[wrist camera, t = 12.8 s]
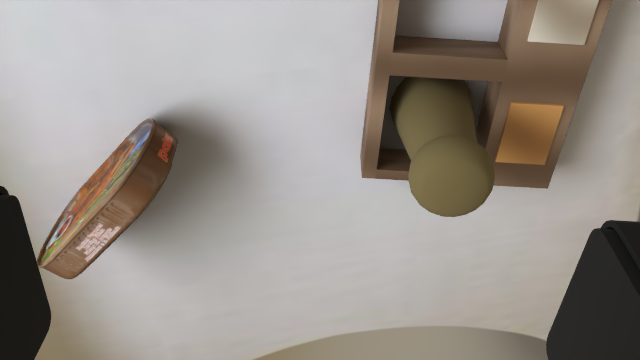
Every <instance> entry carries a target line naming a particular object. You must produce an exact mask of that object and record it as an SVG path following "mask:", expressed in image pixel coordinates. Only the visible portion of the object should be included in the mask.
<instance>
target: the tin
mask: <svg viewBox="0 0 640 360" xmlns="http://www.w3.org/2000/svg"><path fill="white" fill-rule="evenodd" d="M177 143H178V140H177V139H176V138H175V137H174V136H173V135H172V134H170V133H169V132H168V131H166V130H165V129H163V128H162V127H160V126H159V125H158V124H156V123H155V121H154V120H153V119H147V120H145V121H143V122H142V123H141V124H140V125H138V126H137V127H136V129H134V130H133V131H132V132H131V133H130V134H129V136H128V137H127V138H126V139H125V140H124V141H123V142H122V143H121V144H120V145H119V147H118V148H117V149H116V150H115V151H114V152H113V153H112V154H111V155H110V157H109V158H108V159H107V160H106V161H105V162H104V163H103V164H102V165H101V166H100V168H99V169H98V170H97V171H96V172H95V173H94V174H93V175H92V176H91V177H90V178H89V180H88V181H87V182H86V183H85V184H84V185H83V186H82V187H81V188H80V190H79V191H78V192H77V193H76V195H75V196H74V197H73V199H72V200H71V201H70V202H69V204H68V205H67V207H66V208H65V209H64V211H63V212H62V214H61V216H60V217H59V218H58V220H57V222H56V223H55V225H54V227H53V228H52V230H51V232H50V234H49V236H48V237H47V239H46V241H45V243H44V244H43V247H42V249H41V251H40V254H39V256H38V259H37V265H38V267H39V268H44V269H46V270H48V271H50V272H52V273H54V274H56V275H58V276H60V277H62V278H65V279H73V278H75V277H77V276H78V275H79V274H81V273H82V272H83V271H84V270H85V269H86V268H87V267H88V266H89V265H90V264H91V263H93V262H94V261H95V260H96V259H97V258H98V257H99V256H100V255H101V254H102V253H103V252H104V251H105V250H106V249H107V248H108V247H109V246H110V245H111V244H112V243H113V242H114V241H115V240H116V239H117V238H118V237H119V236H120V235H121V234H122V233H123V232H124V231H125V230H126V229H127V228H128V227H129V226H130V225H131V224H132V223H133V222H134V221H135V220H136V219H137V218H138V217H139V216H140V214H141V213H142V212H143V211H144V210H145V209H146V207H147V206H148V205H149V204H150V202H151V201H152V200H153V198H154V197H155V196H156V194H157V193H158V191H159V190H160V188H161V187H162V185H163V183H164V181H165V180H166V178H167V176H168V174H169V172H170V169H171V166H172V160H173V157H174V154H175V151H176V146H177Z"/></svg>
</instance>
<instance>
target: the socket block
mask: <svg viewBox="0 0 640 360" xmlns="http://www.w3.org/2000/svg"><path fill="white" fill-rule="evenodd" d="M399 1H400V0H378V9H377V17H376V26H375V34H374V43H373V52H372V60H371V69H370V78H369V86H368V95H367V103H366V112H365V121H364V129H363V138H362V147H361V155H360V157H361V171H362V178H375V179H392V180H409V179H408V175H409V169H410V164H411V159H410V157H409V155H408V153H407V151H406V150H397V149H380V141H381V133H382V126H383V119H384V111H385V104H386V97H387V89H388V82H389V75H393V76H409V77H426V78H442V79H458V80H475V81H488V85H487V89H486V93H485V97H484V102H483V106H482V110H481V114H480V118H479V122H478V126H477V131H476V138H477V143H478V144H480V145H481V146H482V147H483V148H484V149H485V150H486V151H487V153H488V155H489V156H490V158H491V160H492V162H493V165H494V173H495V181H494V185H497V186H514V187H531V188H548V186H549V183H550V180H551V177H552V174H553V172H554V169H555V166H556V163H557V160H558V157H559V154H560V151H561V148H562V145H563V142H564V139H565V136H566V134H567V131H568V128H569V125H570V122H571V119H572V116H573V113H574V110H575V107H576V104H577V101H578V98H579V96H580V93H581V90H582V87H583V84H584V81H585V78H586V75H587V72H588V69H589V66H590V63H591V60H592V58H593V55H594V52H595V49H596V46H597V43H598V40H599V37H600V34H601V31H602V28H603V25H604V23H605V20H606V17H607V14H608V11H609V8H610V5H611V2H612V0H508V2H507V6H506V10H505V15H504V19H503V23H502V27H501V31H500V35H499V39H498V42H486V41H470V40H454V39H438V38H422V37H406V36H395V31H396V23H397V16H398V9H399Z"/></svg>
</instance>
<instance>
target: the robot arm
mask: <svg viewBox="0 0 640 360" xmlns="http://www.w3.org/2000/svg"><path fill="white" fill-rule="evenodd" d="M50 322H51V311H50V307H49V303H48V300H47V296H46V293H45V289H44V286H43V282H42V279H41V275H40V272H39V268H38V265H37V261H36V258H35V255H34V251H33V248H32V244H31V241H30V237H29V234H28V230H27V227H26V223H25V220H24V216H23V213H22V210H21V206H20V203H19V200H18V199H17V198H16V196H13V195H9V193H8V191H7V190H6V189H5V188H4V187H2V186H0V360H34V359H35V357H36V355H37V353H38V351H39V349H40V347H41V345H42V343H43V341H44V339H45V337H46V335H47V333H48V330H49V327H50ZM546 346H547V349H546V350H547V356H548V359H549V360H640V222H632V221H614V220H610V221H606V222H605V223H604V224H603V225H602V227H601V228H597V229H594V230H593V231H592V232H591V234H590V236H589V238H588V240H587V243H586V245H585V248H584V250H583V252H582V255H581V257H580V260H579V262H578V265H577V267H576V269H575V272H574V274H573V277H572V279H571V281H570V284H569V286H568V289H567V291H566V293H565V296H564V298H563V301H562V303H561V305H560V308H559V310H558V313H557V315H556V318H555V320H554V322H553V325H552V327H551V330H550V332H549V334H548V338H547V344H546Z"/></svg>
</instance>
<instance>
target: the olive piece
mask: <svg viewBox="0 0 640 360" xmlns="http://www.w3.org/2000/svg"><path fill="white" fill-rule="evenodd" d="M390 112H391V116H392V120H393V122H394V125H395V127H396V129H397V131H398V133H399V135H400V138H401V140H402V142H403V144H404V146H405V148H406V151H407V153H408V155H409V157H410V159H411V164H410V169H409V175H408V179H409V184H410V188H411V192H412V194H413V196H414V197H415V198H416V200H417V201H418V203H419V204H420V205H421V206H422V207H423V208H425V209H426V210H428V211H429V212H431V213H434V214H437V215H440V216H446V217H456V216H461V215H465V214H468V213H470V212H472V211H474V210H476V209H477V208H478V207H479V206H481V205H482V204H483V203H484V202H485V200H486V199H487V197H488V196H489V194H490V193H491V191H492V189H493V185H494V181H495V173H494V165H493V162H492V160H491V158H490V156H489V155H488V153H487V151H486V150H485V149H484V148H483V147H482V146H481V145H480V144H478V143H477V138H476V131H475V123H474V115H473V107H472V100H471V93H470V90H469V88H468V86H467V84H466V82H465V81H464V80H458V79H442V78H426V77H409V76H408V77H406V78H405V79H404V80H403V81H402V82H401V83H400V84H399V85H398V86H397V88H396V90H395V92H394V94H393V96H392V98H391V105H390Z"/></svg>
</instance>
